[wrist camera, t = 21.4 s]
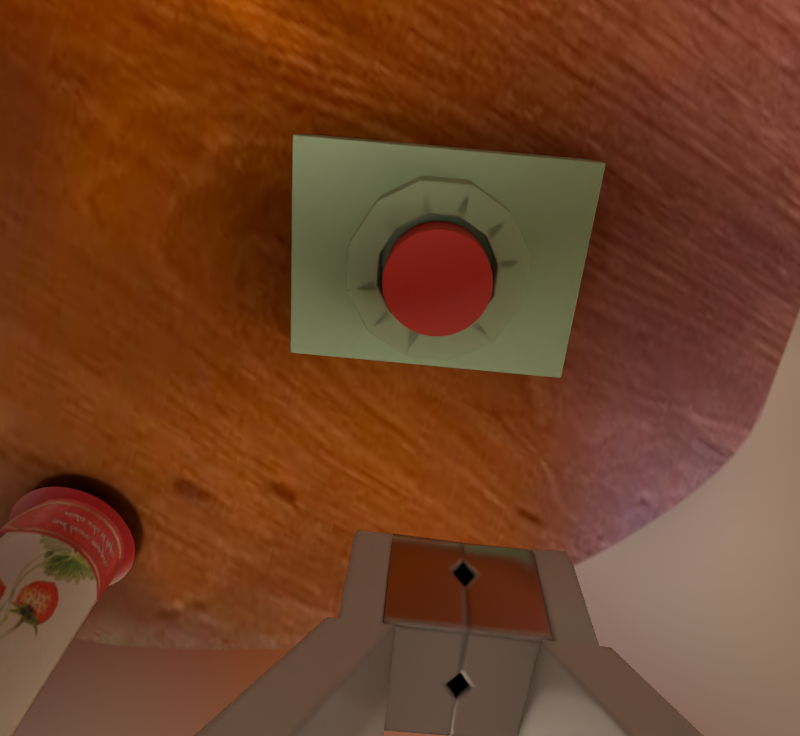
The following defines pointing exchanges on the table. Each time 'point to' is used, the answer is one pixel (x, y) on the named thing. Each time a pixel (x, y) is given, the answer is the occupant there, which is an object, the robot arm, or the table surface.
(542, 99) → the table surface
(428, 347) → the button box
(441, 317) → the button
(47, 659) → the liquor
